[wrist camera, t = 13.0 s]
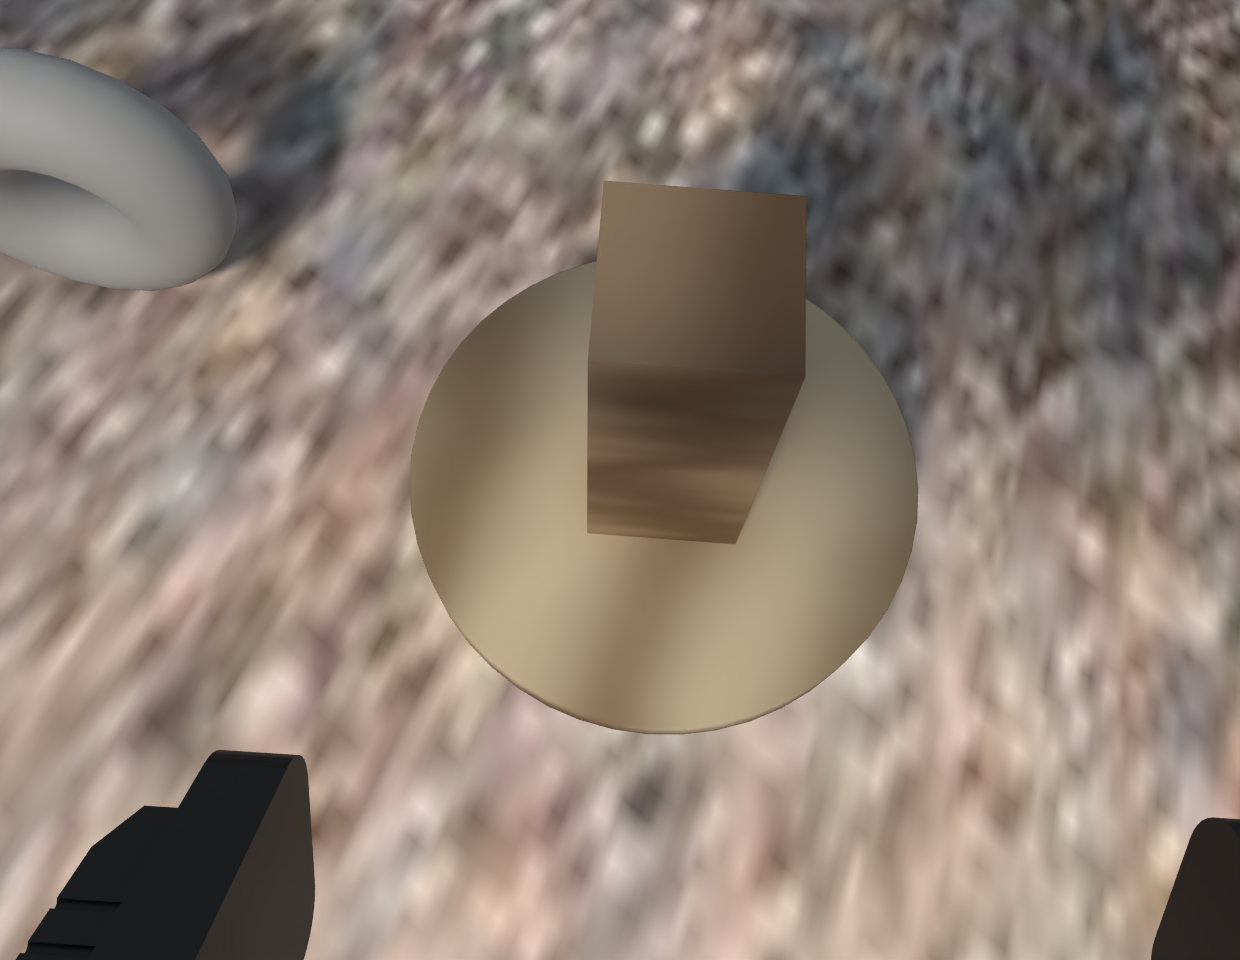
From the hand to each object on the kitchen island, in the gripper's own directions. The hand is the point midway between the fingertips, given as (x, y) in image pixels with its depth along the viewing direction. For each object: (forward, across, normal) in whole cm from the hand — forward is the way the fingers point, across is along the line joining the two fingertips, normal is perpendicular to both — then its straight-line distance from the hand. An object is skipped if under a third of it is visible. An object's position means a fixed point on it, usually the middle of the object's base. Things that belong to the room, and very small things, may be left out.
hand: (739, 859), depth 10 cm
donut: (+30, +19, +2) cm, 36 cm away
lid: (+20, 0, +5) cm, 21 cm away
